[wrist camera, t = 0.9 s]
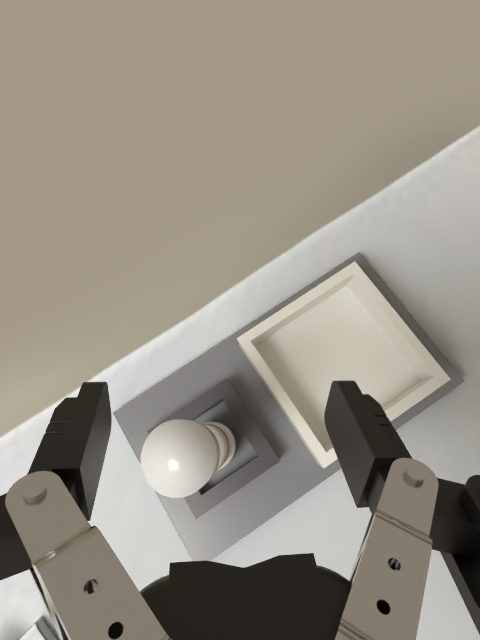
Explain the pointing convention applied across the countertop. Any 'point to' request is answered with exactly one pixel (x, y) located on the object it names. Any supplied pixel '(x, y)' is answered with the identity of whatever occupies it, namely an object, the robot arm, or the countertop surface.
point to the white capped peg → (185, 455)
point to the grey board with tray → (289, 398)
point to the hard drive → (39, 632)
